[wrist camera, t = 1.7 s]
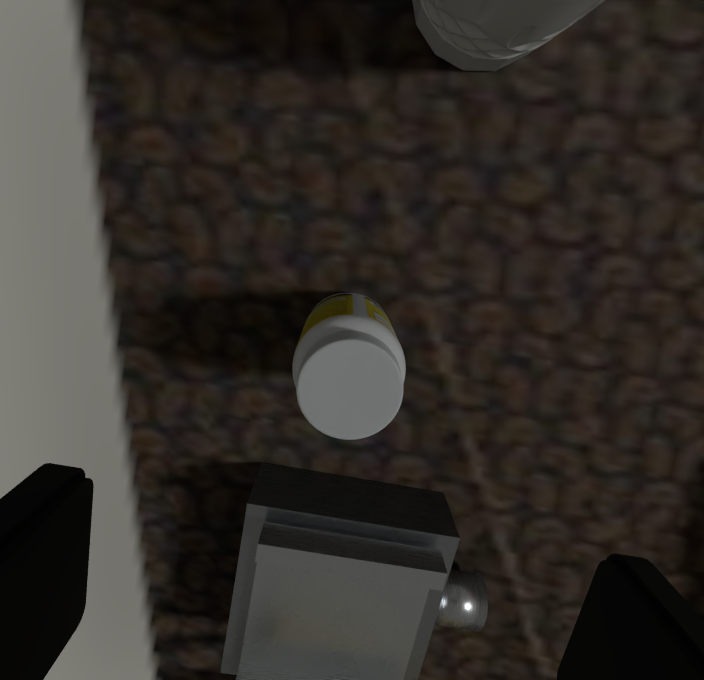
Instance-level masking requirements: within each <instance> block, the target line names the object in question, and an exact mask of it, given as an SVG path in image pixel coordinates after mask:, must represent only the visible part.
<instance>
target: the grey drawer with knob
mask: <svg viewBox="0 0 704 680" xmlns="http://www.w3.org/2000/svg"><path fill="white" fill-rule="evenodd" d="M459 540H460V537H459V534H458V531H457V528H456V525H455V523H454V520H453V517H452V514H451V511H450V509H449V506H448V503H447V500H446V497H445V495H444V493H440V492H435V491H429V490H423V489H417V488H411V487H405V486H399V485H393V484H387V483H381V482H375V481H369V480H363V479H357V478H351V477H345V476H339V475H333V474H327V473H322V472H316V471H310V470H304V469H298V468H292V467H286V466H280V465H274V464H268V463H262V462H261V465H260V468H259V471H258V474H257V477H256V480H255V482H254V485H253V488H252V491H251V494H250V497H249V500H248V503H247V508H246V514H245V520H244V527H243V533H242V539H241V546H240V552H239V558H238V565H237V571H236V577H235V584H234V590H233V596H232V603H231V609H230V615H229V622H228V628H227V634H226V641H225V647H224V653H223V660H222V666H221V672H220V673H226V674H233V675H237V677H236V680H418V677H419V674H420V670H421V667H422V664H423V660H424V657H425V654H426V650H427V647H428V644H429V640H430V637H431V634H432V630H433V627H434V625H438V626H444V627H451V628H458V629H464V630H471V631H481V630H482V629H483V627H484V625H485V622H486V617H487V610H488V597H487V589H486V585H485V581H484V579H483V577H482V576H481V575H480V574H479V573H472V572H466V571H459V570H453V569H451V567H452V563H453V560H454V557H455V553H456V550H457V547H458V543H459Z"/></svg>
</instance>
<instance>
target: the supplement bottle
mask: <svg viewBox="0 0 704 680" xmlns="http://www.w3.org/2000/svg"><path fill="white" fill-rule="evenodd" d="M405 370H406V367H405V357H404V353H403V350H402V347H401V345H400V343H399V341H398V339H397V337H396V334H395V332H394V330H393V328H392V325H391V323H390V321H389V319H388V317H387V315H386V313H385V312H384V310H383V309H382V308H381V307H380V306H379V305H378V304H377V303H376V302H375V301H373V300H372V299H370V298H368V297H366V296H364V295H360V294H356V293H339V294H335V295H332V296H329V297H327V298H325V299H323V300H322V301H321V302H319V303H318V304H317V305H316V306H315V307H314V308H313V309H312V311H311V312H310V314H309V315H308V317H307V319H306V322H305V324H304V327H303V330H302V333H301V336H300V339H299V342H298V344H297V347H296V350H295V353H294V358H293V364H292V372H293V379H294V383H295V386H296V393H297V399H298V404H299V406H300V409H301V411H302V413H303V414H304V416H305V418H306V419H307V420H308V421H309V422H310V423H311V424H312V425H313V426H314V427H315V428H316V429H318V430H319V431H320V432H322V433H324V434H326V435H328V436H331V437H334V438H339V439H347V440H353V439H361V438H365V437H368V436H371V435H373V434H375V433H377V432H379V431H380V430H382V429H383V428H384V427H386V426H387V425H388V424H389V423H390V422H391V421H392V419H393V418H394V417H395V415H396V413H397V412H398V410H399V408H400V405H401V402H402V398H403V383H404V379H405Z"/></svg>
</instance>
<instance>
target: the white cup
mask: <svg viewBox="0 0 704 680" xmlns="http://www.w3.org/2000/svg"><path fill="white" fill-rule="evenodd" d="M604 1H606V0H412V2H413V9H414V15H415V21H416V26H417V27H418V29H419V30H420V32H421V34H422V35H423V37H424V38H425V40H426V41H427V43H428V44H429V46H430V47H431V49H432V51H433V52H434V54H435V55H437V56H439V57H440V58H442V59H444V60H445V61H447V62H449V63H451V64H452V65H454V66H456V67H458V68H459V69H461V70H463V71H496V70H498V69H500V68H502V67H504V66H506V65H508V64H510V63H512V62H514V61H516V60H518V59H520V58H522V57H524V56H526V55H528V54H529V53H530V52H531V51H533V50H534V49H536V48H538V47H540V46H542V45H543V44H545V43H546V42H548V41H549V40H551V39H552V38H554V37H555V36H557V35H558V34H559V33H561V32H562V31H563V30H565V29H566V28H568V27H569V26H571V25H572V24H574V23H575V22H577V21H579V20H580V19H581V18H583V17H584V16H586V15H587V14H588V13H590V12H591V11H592V10H594V9H595V8H596V7H598V6H599V5H600V4H602V3H603V2H604Z"/></svg>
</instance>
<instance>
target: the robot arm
mask: <svg viewBox="0 0 704 680" xmlns="http://www.w3.org/2000/svg"><path fill="white" fill-rule="evenodd" d="M92 501H93V481H92V480H91V479H89V478H85V473H84V470H83V469H81V468H76V467H70V466H64V465H57V464H51V463H47V464H44V465H42V466H41V467H39V468H38V469H37V470H36V471H34V472H33V473H32V474H31V475H29V476H28V477H27V478H26V479H24V480H23V481H22V482H21V483H20V484H18V485H17V486H16V487H15V488H13V489H12V490H11V491H10V492H8V493H7V494H6V495H5V496H3V497H2V498H1V499H0V680H43V679H44V677H45V676H46V674H47V673H48V671H49V670H50V668H51V667H52V665H53V664H54V662H55V661H56V659H57V658H58V656H59V655H60V653H61V652H62V650H63V649H64V647H65V646H66V644H67V642H68V641H69V639H70V638H71V636H72V635H73V633H74V632H75V630H76V628H77V627H78V625H79V623H80V621H81V619H82V616H83V613H84V609H85V604H86V592H87V576H88V561H89V546H90V530H91V516H92ZM557 680H704V620H703V619H702V618H701V617H700V616H699V614H698V613H697V612H696V611H695V610H694V609H693V608H692V607H691V606H690V605H689V603H688V602H687V601H686V600H685V599H684V598H683V597H682V596H681V595H680V594H679V592H678V591H677V590H676V589H675V588H674V587H673V586H672V585H671V584H670V583H669V582H668V580H667V579H666V578H665V577H664V576H663V575H662V574H661V573H660V572H659V571H658V569H657V568H656V567H655V566H654V565H653V564H652V563H651V562H650V561H648V560H647V559H644V558H640V557H634V556H627V555H621V554H611V555H610V556H609V557H607V559H606V560H604V561H602V562H600V563H599V565H598V567H597V570H596V572H595V575H594V577H593V580H592V583H591V585H590V588H589V590H588V593H587V596H586V598H585V601H584V603H583V606H582V609H581V611H580V614H579V616H578V619H577V622H576V624H575V627H574V629H573V632H572V635H571V637H570V640H569V642H568V645H567V648H566V650H565V653H564V656H563V658H562V661H561V663H560V666H559V669H558V672H557Z"/></svg>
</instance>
